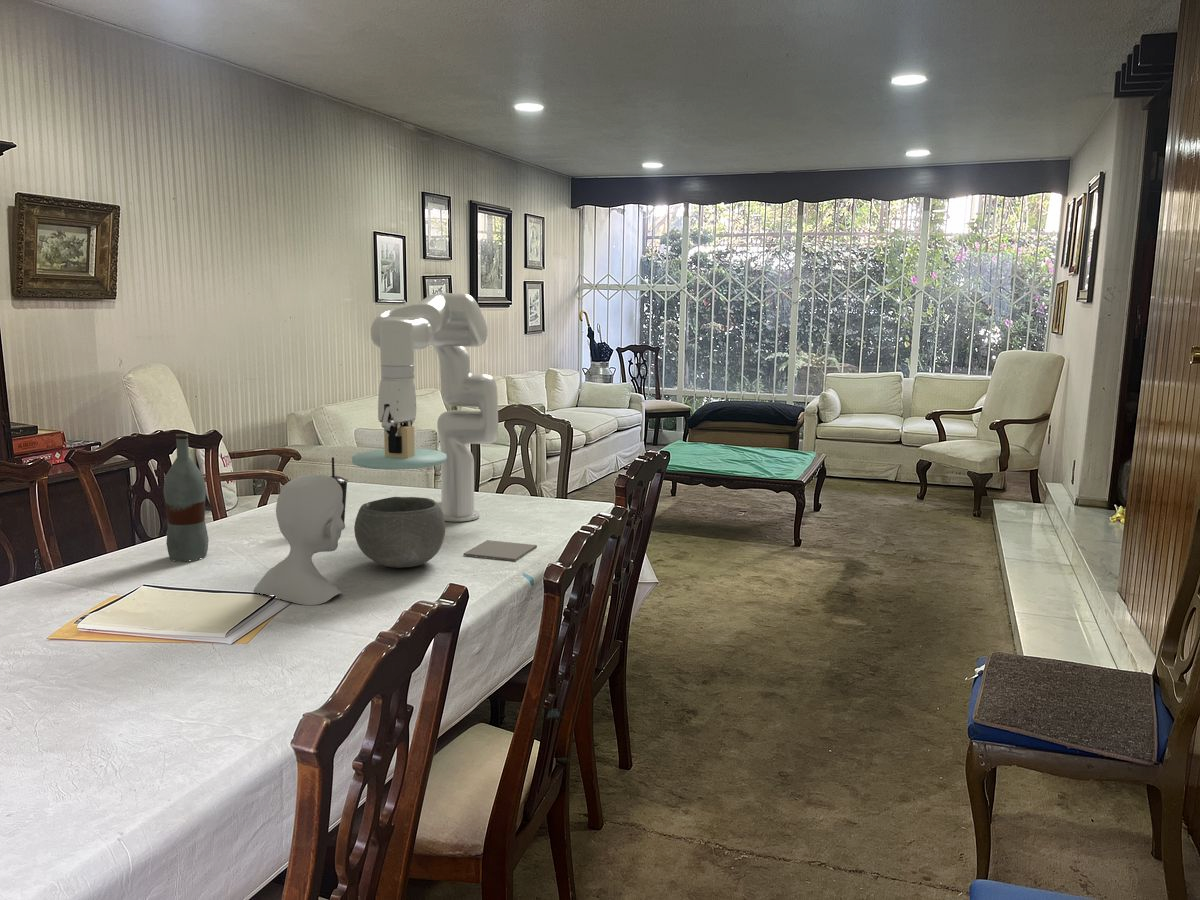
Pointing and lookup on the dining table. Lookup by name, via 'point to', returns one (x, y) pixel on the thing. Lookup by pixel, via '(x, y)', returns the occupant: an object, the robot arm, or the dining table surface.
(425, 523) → the bowl
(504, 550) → the mat
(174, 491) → the bottle
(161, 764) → the dining table surface
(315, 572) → the head bust
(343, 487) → the walkie talkie
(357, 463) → the lid
